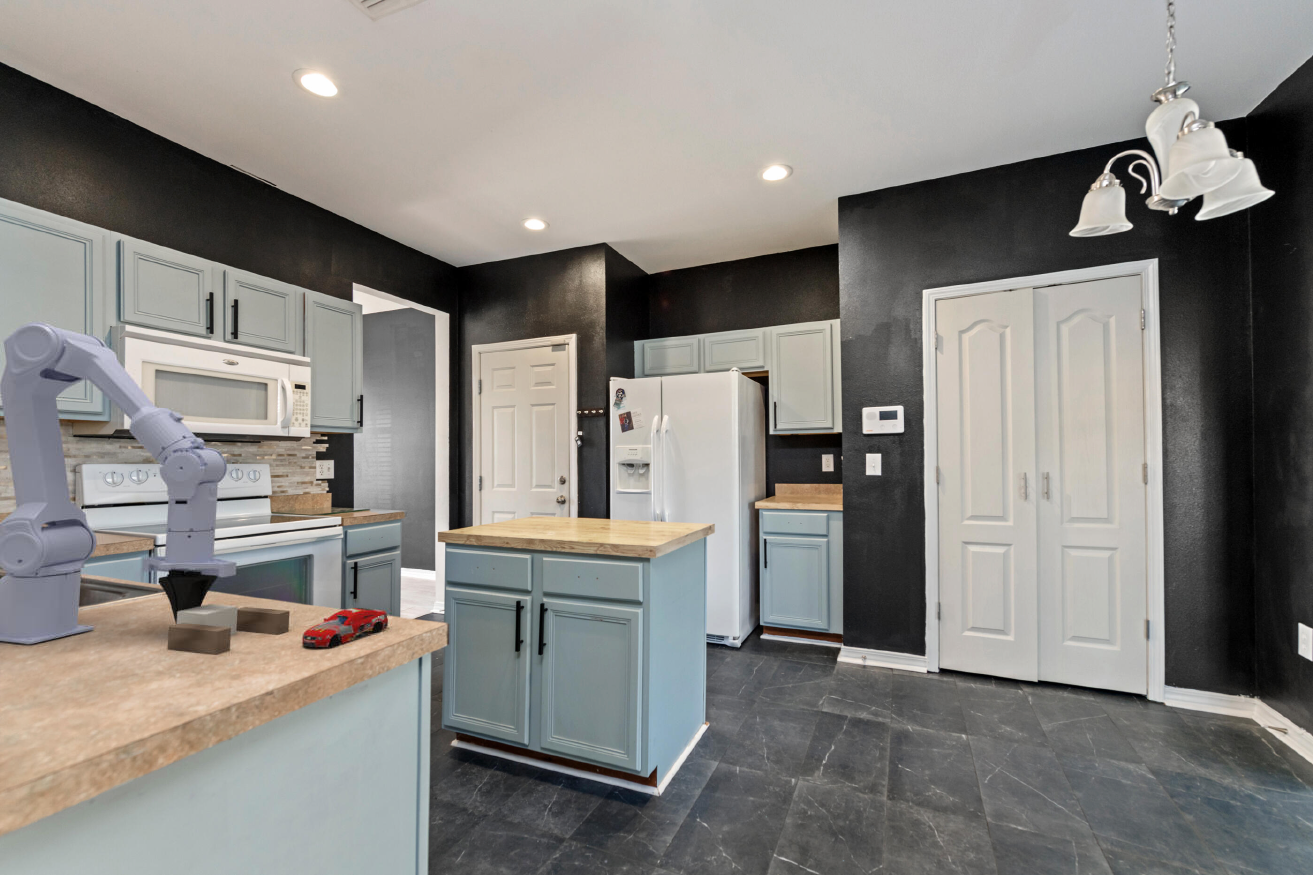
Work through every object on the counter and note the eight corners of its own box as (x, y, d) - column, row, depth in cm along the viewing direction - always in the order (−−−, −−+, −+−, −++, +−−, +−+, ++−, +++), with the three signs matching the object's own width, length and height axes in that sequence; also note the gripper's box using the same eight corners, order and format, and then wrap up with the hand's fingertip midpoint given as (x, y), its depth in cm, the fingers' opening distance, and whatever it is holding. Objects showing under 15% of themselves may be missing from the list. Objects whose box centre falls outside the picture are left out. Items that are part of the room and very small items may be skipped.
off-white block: (175, 639, 86) (177, 611, 87) (208, 630, 91) (210, 603, 92) (204, 643, 85) (205, 614, 86) (236, 633, 90) (237, 606, 90)
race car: (320, 654, 83) (322, 624, 83) (292, 648, 85) (293, 619, 85) (394, 630, 95) (395, 604, 96) (367, 626, 97) (368, 600, 98)
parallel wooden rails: (167, 648, 82) (168, 626, 83) (244, 626, 94) (245, 606, 94) (216, 654, 81) (217, 631, 81) (288, 630, 92) (289, 610, 93)
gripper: (123, 530, 87) (117, 626, 87) (206, 535, 84) (201, 634, 84) (171, 525, 94) (166, 614, 94) (250, 530, 91) (245, 621, 91)
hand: (185, 623), depth 89 cm, fingers closed
